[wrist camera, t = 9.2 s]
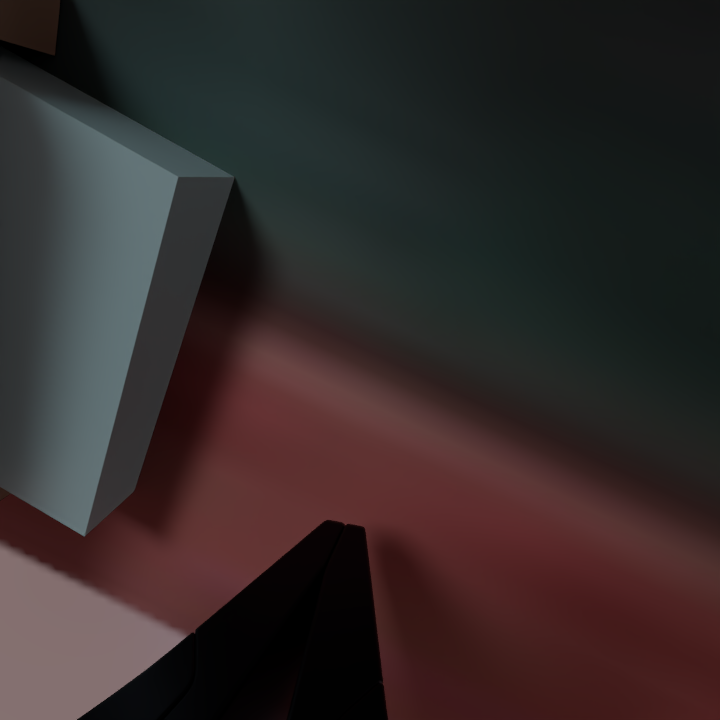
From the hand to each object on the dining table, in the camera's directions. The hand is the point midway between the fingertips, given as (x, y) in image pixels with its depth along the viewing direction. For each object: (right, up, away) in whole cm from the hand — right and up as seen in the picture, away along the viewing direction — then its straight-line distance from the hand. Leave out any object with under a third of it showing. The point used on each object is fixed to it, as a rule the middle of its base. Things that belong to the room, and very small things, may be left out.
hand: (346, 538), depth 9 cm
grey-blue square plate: (-8, +6, +2) cm, 11 cm away
